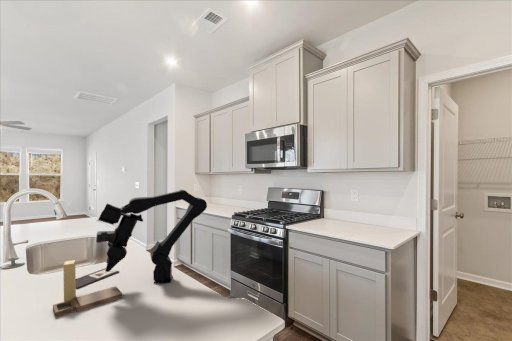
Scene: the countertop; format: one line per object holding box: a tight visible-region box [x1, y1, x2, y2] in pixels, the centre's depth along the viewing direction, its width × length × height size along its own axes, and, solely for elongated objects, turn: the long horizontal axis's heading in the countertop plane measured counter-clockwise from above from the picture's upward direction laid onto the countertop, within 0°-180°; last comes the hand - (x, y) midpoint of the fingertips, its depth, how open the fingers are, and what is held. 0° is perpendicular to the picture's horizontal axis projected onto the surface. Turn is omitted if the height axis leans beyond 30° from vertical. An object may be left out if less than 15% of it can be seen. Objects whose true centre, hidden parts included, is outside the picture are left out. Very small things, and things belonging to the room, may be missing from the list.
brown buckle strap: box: [52, 285, 123, 318], centre depth 92 cm, size 19×8×2 cm, turn 133°
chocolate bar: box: [76, 267, 120, 290], centre depth 113 cm, size 9×1×18 cm
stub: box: [62, 259, 77, 302], centre depth 95 cm, size 3×4×13 cm
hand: (107, 267), depth 101 cm, fingers open, 9 cm apart
